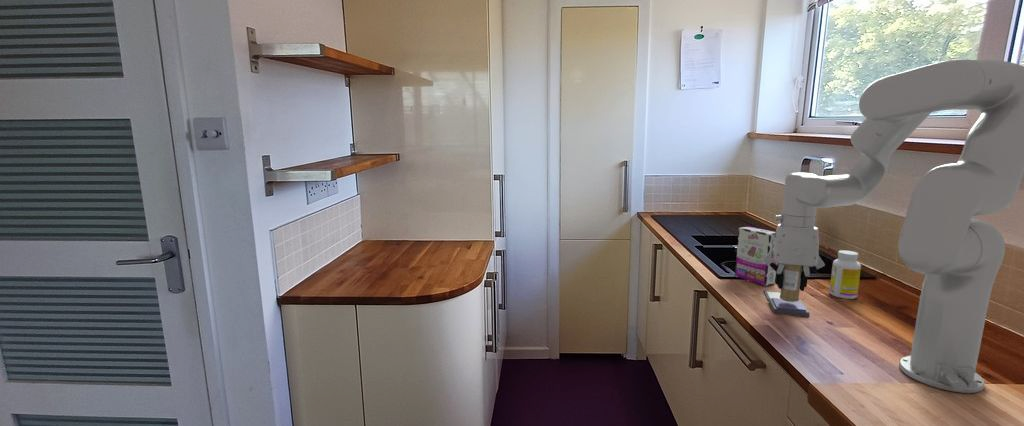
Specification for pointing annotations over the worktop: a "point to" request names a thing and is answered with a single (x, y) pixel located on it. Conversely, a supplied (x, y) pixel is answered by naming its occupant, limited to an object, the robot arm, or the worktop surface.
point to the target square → (771, 294)
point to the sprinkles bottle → (791, 283)
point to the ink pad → (788, 307)
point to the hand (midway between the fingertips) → (790, 287)
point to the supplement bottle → (845, 275)
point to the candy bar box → (754, 256)
